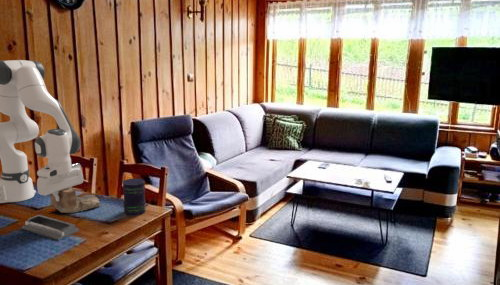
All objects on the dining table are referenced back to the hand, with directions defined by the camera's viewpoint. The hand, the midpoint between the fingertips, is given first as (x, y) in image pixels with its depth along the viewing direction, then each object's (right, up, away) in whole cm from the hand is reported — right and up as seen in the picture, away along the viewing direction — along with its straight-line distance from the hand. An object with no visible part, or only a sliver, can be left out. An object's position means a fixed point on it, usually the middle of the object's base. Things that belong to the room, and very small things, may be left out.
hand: (63, 199), depth 172 cm
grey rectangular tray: (-4, -12, -4) cm, 13 cm away
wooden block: (0, -3, +1) cm, 3 cm away
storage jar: (+26, -9, +17) cm, 32 cm away
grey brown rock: (-3, -7, +21) cm, 23 cm away
